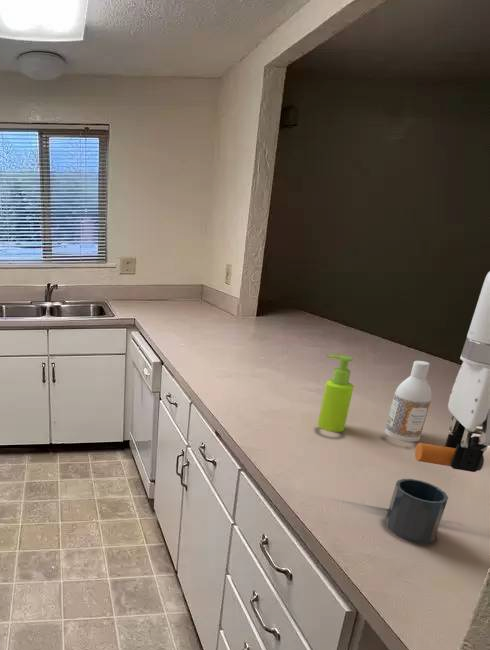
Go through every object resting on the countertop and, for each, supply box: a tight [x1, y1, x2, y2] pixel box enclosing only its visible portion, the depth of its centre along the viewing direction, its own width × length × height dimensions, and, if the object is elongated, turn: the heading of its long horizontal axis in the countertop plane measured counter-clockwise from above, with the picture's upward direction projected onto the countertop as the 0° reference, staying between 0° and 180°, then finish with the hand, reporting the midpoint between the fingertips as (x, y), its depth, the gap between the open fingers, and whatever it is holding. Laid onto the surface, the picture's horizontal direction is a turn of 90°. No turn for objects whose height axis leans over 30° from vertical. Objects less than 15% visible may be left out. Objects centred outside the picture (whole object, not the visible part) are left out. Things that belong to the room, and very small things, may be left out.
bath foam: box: [384, 360, 432, 443], centre depth 103 cm, size 7×7×20 cm
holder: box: [385, 478, 449, 544], centre depth 74 cm, size 7×7×8 cm
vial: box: [414, 442, 485, 472], centre depth 70 cm, size 8×3×3 cm, turn 68°
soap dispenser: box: [317, 353, 355, 433], centre depth 107 cm, size 6×7×20 cm
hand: (458, 462), depth 69 cm, fingers closed on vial, 3 cm apart
